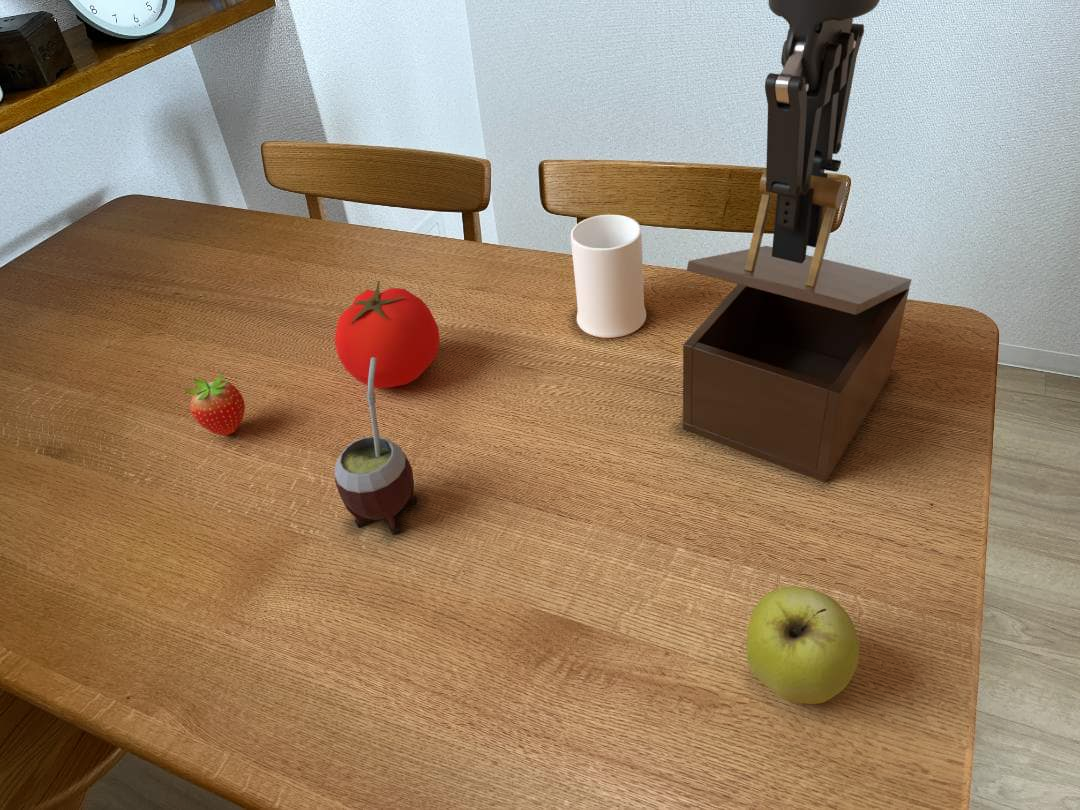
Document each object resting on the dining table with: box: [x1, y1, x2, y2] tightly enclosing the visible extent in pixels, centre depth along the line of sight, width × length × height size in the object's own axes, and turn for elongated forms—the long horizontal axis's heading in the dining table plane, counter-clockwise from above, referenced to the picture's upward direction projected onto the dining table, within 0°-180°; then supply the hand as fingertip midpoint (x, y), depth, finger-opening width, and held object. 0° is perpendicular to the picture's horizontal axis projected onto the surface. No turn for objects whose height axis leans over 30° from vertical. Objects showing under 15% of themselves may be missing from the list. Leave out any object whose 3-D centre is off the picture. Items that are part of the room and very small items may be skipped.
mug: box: [570, 214, 647, 339], centre depth 97 cm, size 12×8×12 cm
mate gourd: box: [334, 358, 418, 536], centre depth 75 cm, size 8×8×15 cm
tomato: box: [334, 280, 441, 389], centre depth 92 cm, size 12×12×11 cm
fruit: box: [182, 373, 246, 436], centre depth 88 cm, size 5×5×8 cm
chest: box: [682, 284, 910, 483], centre depth 81 cm, size 18×15×11 cm
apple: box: [746, 586, 860, 705], centre depth 59 cm, size 8×8×10 cm
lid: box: [686, 168, 912, 315], centre depth 73 cm, size 19×15×10 cm
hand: (795, 249), depth 70 cm, fingers closed on lid, 2 cm apart
